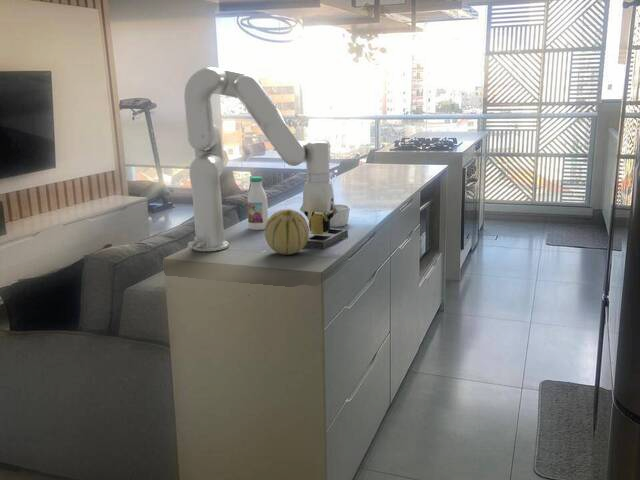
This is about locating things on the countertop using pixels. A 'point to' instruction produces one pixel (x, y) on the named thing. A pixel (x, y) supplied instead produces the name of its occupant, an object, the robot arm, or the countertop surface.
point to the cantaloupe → (286, 232)
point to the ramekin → (340, 216)
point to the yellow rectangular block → (317, 223)
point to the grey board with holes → (326, 238)
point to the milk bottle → (257, 205)
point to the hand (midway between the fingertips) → (319, 230)
